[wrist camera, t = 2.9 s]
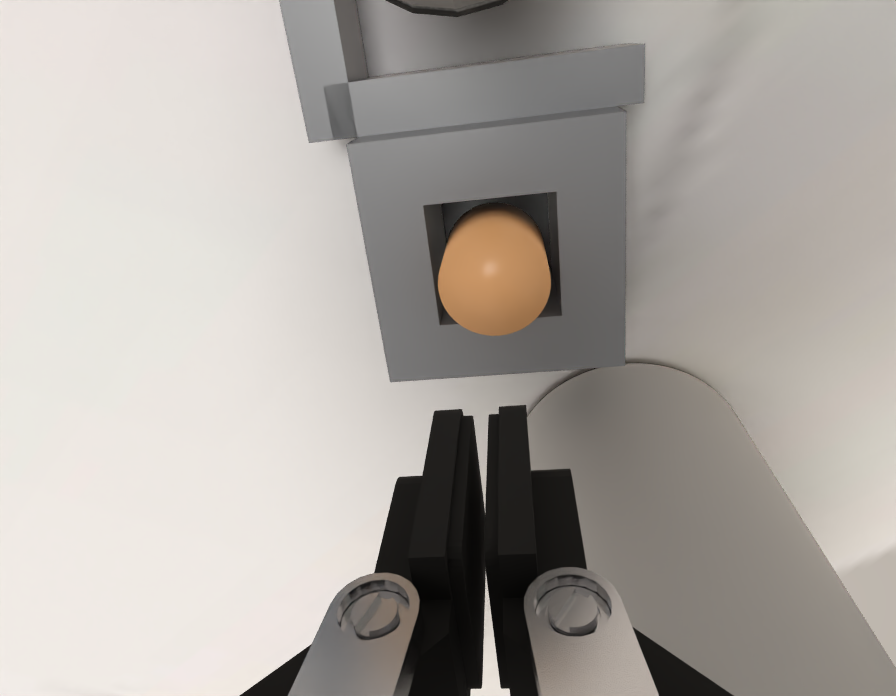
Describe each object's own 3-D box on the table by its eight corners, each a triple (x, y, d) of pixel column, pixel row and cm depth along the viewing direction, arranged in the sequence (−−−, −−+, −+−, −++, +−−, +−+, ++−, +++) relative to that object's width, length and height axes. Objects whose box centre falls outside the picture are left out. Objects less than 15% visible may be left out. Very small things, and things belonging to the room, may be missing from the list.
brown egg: (541, 197, 24) (548, 223, 21) (546, 291, 26) (553, 331, 22) (441, 207, 25) (431, 235, 21) (452, 299, 27) (445, 339, 23)
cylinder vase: (588, 568, 39) (707, 1284, 16) (468, 432, 35) (410, 1124, 13) (779, 477, 35) (1285, 1267, 12) (667, 312, 31) (1104, 1023, 8)
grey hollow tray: (626, -356, 20) (670, -498, 15) (624, 308, 31) (649, 364, 26) (255, -278, 22) (176, -381, 17) (371, 328, 32) (345, 385, 27)
